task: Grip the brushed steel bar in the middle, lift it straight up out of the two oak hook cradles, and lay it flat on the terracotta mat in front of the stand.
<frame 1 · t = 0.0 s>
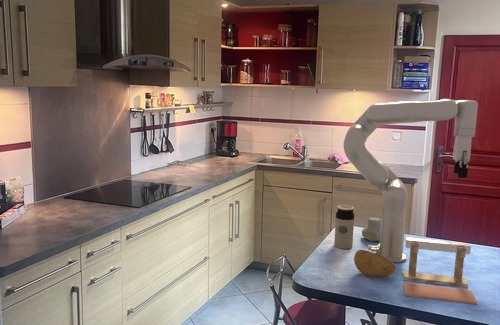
hand: (460, 175, 189), 37 cm above the table, fingers open, 9 cm apart
potato: (373, 276, 180), on the table
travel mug: (343, 246, 213), on the table
terracotta mat: (438, 293, 167), on the table
hook stand: (434, 280, 178), on the table
steel bar: (437, 249, 176), point 12 cm above the table, touching hook stand
air freshener: (373, 240, 224), on the table
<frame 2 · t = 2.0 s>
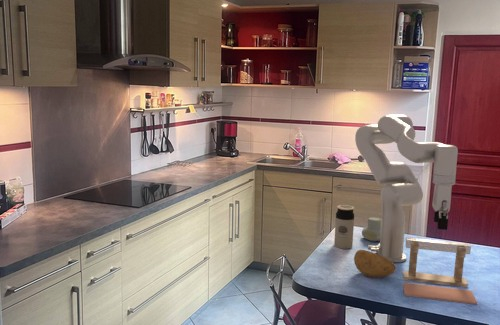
hand: (440, 225, 174), 21 cm above the table, fingers open, 9 cm apart
nothing on the table moved.
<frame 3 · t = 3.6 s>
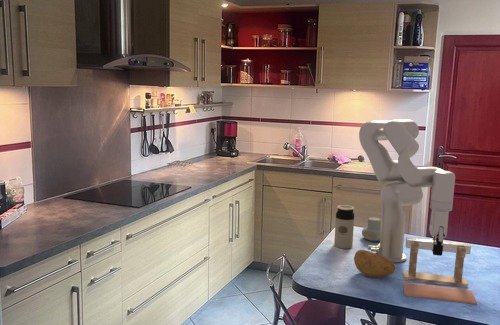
hand: (436, 252, 176), 11 cm above the table, fingers closed on steel bar, 3 cm apart
steel bar: (437, 249, 176), point 12 cm above the table, touching gripper, hook stand
everything else where it was.
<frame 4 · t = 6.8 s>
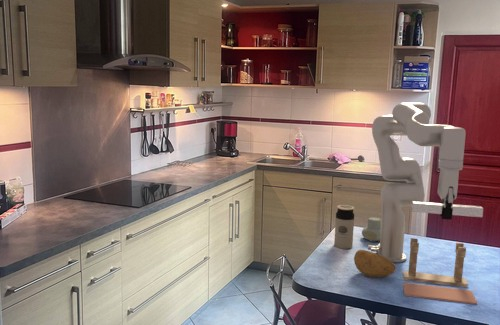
hand: (445, 217, 162), 28 cm above the table, fingers closed on steel bar, 3 cm apart
steel bar: (446, 213, 162), point 29 cm above the table, touching gripper
everything else where it was.
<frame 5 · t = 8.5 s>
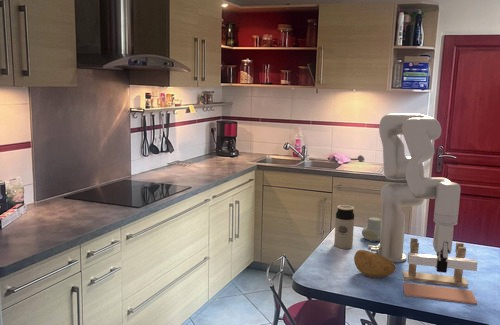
hand: (440, 269, 165), 9 cm above the table, fingers closed on steel bar, 3 cm apart
steel bar: (441, 265, 165), point 10 cm above the table, touching gripper
everything else where it was.
when the fingers open (1 cm above the table, at t = 10.0 s): steel bar drops 2 cm, resting on terracotta mat.
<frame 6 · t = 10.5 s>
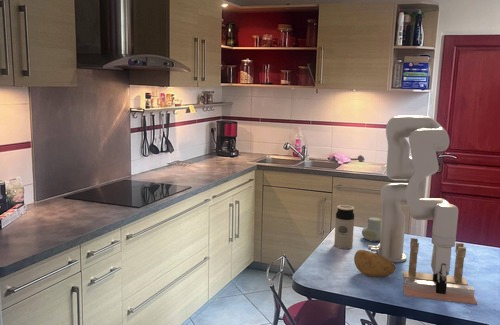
hand: (438, 287, 166), 2 cm above the table, fingers open, 8 cm apart
steel bar: (438, 292, 166), point 1 cm above the table, touching terracotta mat
everything else where it was.
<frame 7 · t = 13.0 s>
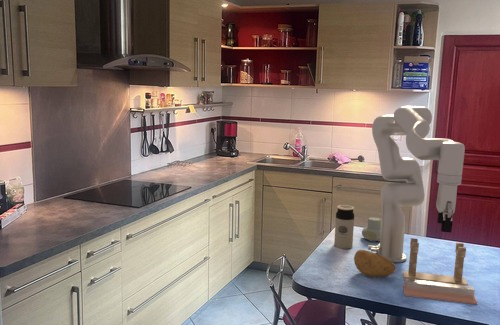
hand: (444, 227, 164), 24 cm above the table, fingers open, 9 cm apart
nothing on the table moved.
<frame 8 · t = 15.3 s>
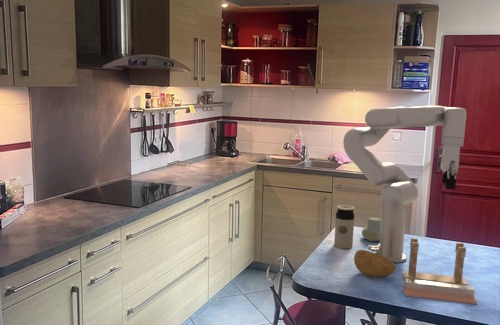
hand: (448, 186, 179), 34 cm above the table, fingers open, 9 cm apart
nothing on the table moved.
at the end: steel bar inside the target area (0.0 cm from its centre), point 0.6 cm above the table; steel bar touching terracotta mat; the gripper is holding nothing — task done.
